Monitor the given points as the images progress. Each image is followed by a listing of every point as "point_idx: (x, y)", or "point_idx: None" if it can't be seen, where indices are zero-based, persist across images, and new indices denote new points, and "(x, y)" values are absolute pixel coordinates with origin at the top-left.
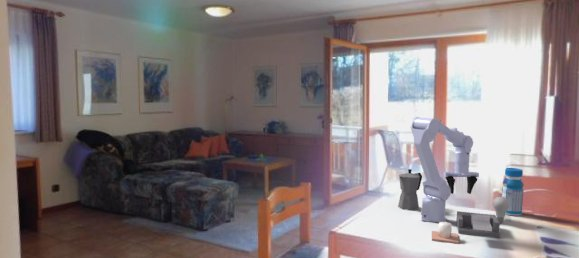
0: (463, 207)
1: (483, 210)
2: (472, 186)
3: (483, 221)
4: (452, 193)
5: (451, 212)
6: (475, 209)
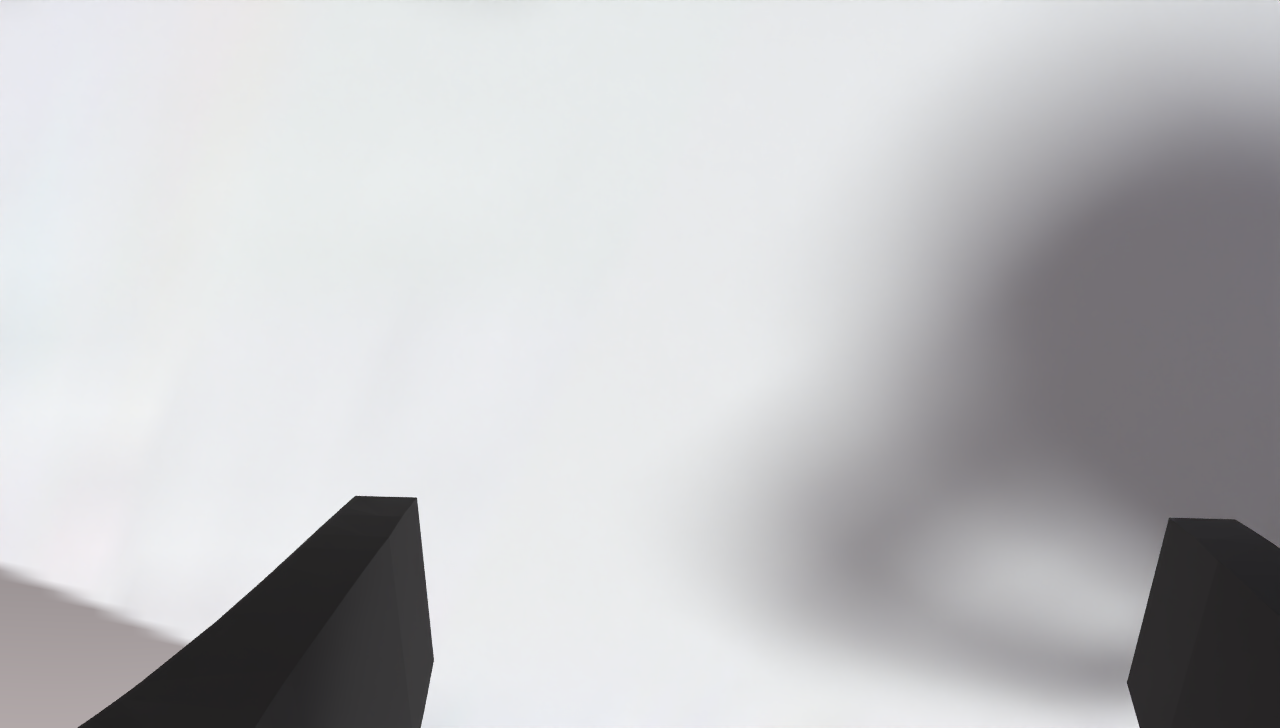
0: None
1: (32, 526)
2: (166, 705)
3: None
4: (1218, 525)
5: (864, 392)
6: (190, 593)
